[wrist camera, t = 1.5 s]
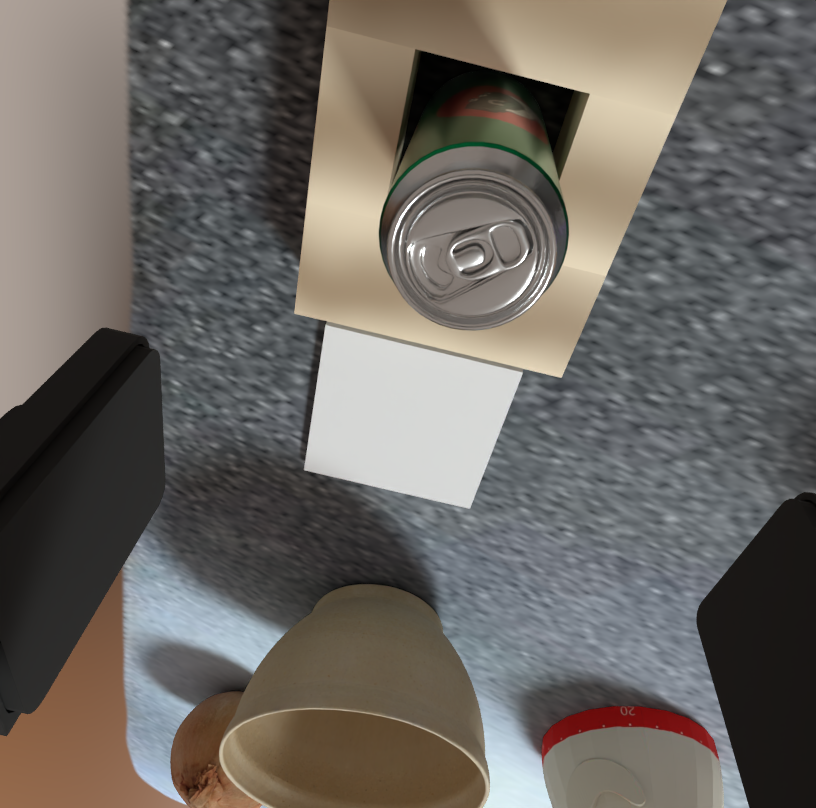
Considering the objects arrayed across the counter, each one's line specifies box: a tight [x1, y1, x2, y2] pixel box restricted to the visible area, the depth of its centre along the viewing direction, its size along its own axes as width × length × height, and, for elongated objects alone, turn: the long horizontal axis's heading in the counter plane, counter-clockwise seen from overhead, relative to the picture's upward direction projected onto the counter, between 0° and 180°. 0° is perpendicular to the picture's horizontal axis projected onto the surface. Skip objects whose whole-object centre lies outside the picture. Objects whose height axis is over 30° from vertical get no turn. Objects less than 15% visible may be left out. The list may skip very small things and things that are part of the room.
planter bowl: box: [219, 584, 490, 808], centre depth 42 cm, size 16×16×11 cm
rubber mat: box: [304, 321, 523, 509], centre depth 34 cm, size 10×10×1 cm
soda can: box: [379, 70, 569, 331], centre depth 21 cm, size 5×5×12 cm
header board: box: [294, 0, 727, 378], centre depth 24 cm, size 16×12×4 cm
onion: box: [170, 691, 262, 808], centre depth 52 cm, size 10×9×10 cm
